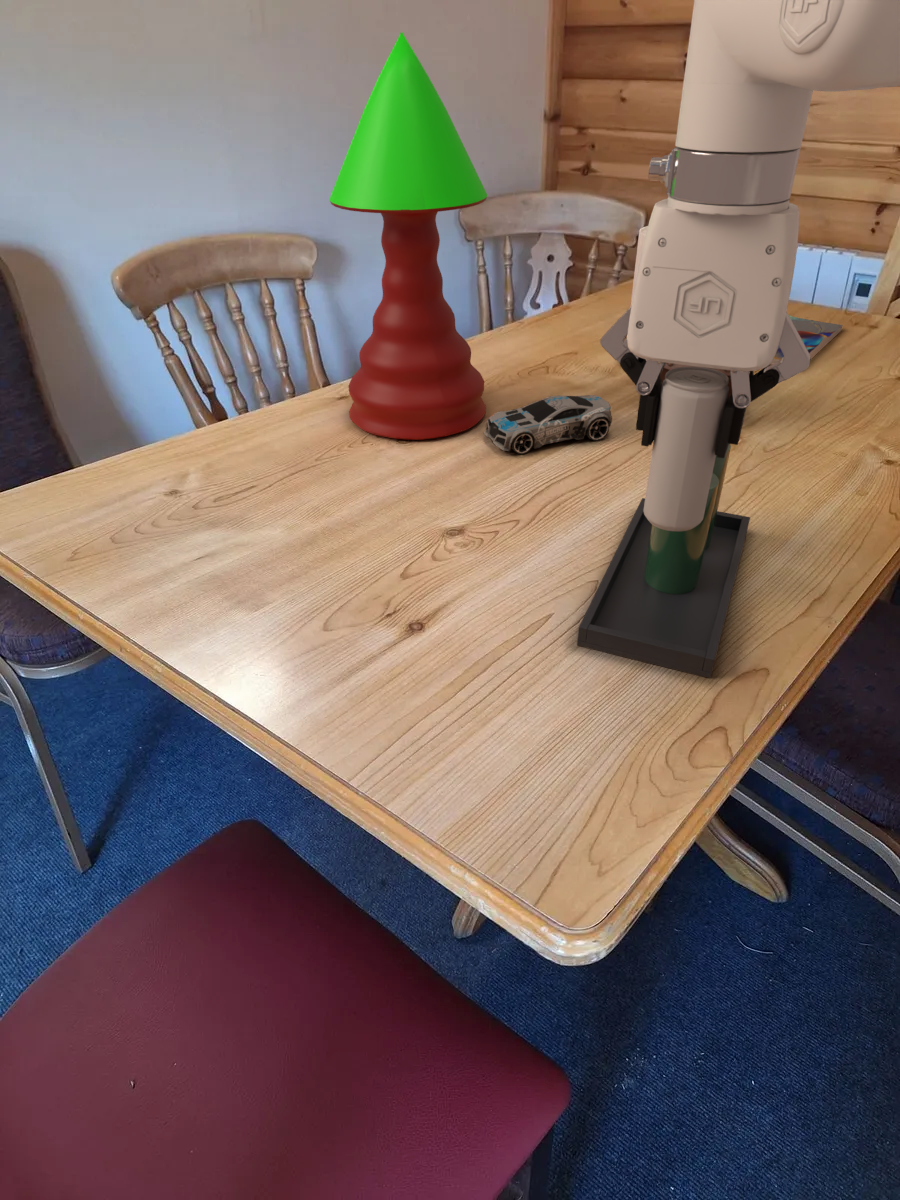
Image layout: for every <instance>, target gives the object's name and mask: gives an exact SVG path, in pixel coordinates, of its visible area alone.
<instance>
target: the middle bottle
mask: <svg viewBox="0 0 900 1200" xmlns="http://www.w3.org/2000/svg"><path fill="white" fill-rule="evenodd" d="M718 485H719V480H718V478H717V476H716V475H715V474H713V473H712V478H711V483H710V488H709V493H708V498H707V503H706V507H705V512H704V517H703V520H702V521H701V523H700V524H698V525H697V526H696V527H694V528H692V529H690V530H687V531H667V530H663V529H660V528H658V527H656V526H654V525H652V526H651V533H650V539H649V546H648V552H647V559H646V565H645V571H644V579H645V581H646V583H647V584H648V585H649V586H650V587H652V588H654V589H655V590H658V591H660V592H664V593H669V594H684V593H688V592H690V591H692V590H694V589H695V588H696V587H697V585H698V582H699V577H700V572H701V567H702V562H703V557H704V552H705V548H706V543H707V538H708V533H709V528H710V523H711V518H712V514H713V509H714V504H715V499H716V494H717V489H718Z"/></svg>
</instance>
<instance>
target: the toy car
mask: <svg viewBox="0 0 900 1200" xmlns="http://www.w3.org/2000/svg"><path fill="white" fill-rule="evenodd" d="M611 409H612V406H611V404H610V403H609V402H608V401H607V400H605V399H604V398H602V397H601V396H599V395H596V394H587V395H551V396H547V397H545V398H541V399H539V400H537V401H536V400H535V401H534V402H531V403H528V404H527V405H524V406H521V407H517V408H513V409H509V410H499V411H497V412H495V413H493V415H490V416H489V417H488V419H487V421H486V426H485V427H486V428H485V431H484V433H483V434H484V436H485V437H486V438H489V439H490V440H491V441H492V444H493V445H494V446H496V447H497V448H499V449H500V450H502V451H503V452H511V449H512V451H513V452H515V453H516V454H517V455H525V454H527V453H529V452H530V451H531V449H532V448H533V449H540V448H541V447H543V446H544V445H549V444H553V443H558V442H563V441H569V440H573V439H574V440H576V441H578V440H584V439H585V436H586V437H587V438H588V439H590V440H592V441H593V442H598V441H601V440H603V439H604V438H605V437H606V436H607V435H608V433H609V431H610V428H611V426H612V422H613V415H612V413H611Z"/></svg>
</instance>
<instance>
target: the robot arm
mask: <svg viewBox="0 0 900 1200" xmlns="http://www.w3.org/2000/svg"><path fill="white" fill-rule="evenodd" d="M893 87H894V88H895V87H900V0H693V7H692V15H691V23H690V30H689V39H688V46H687V53H686V62H685V70H684V77H683V82H682V91H681V98H680V106H679V112H678V113H679V114H678V121H677V128H676V129H677V130H676V136H675V144H674V146H675V147H674V148H672V149H671V152H669V153H668V154H665V155H663V156H662V157H658V156H656V157H651V159H650V162H649V167H648V176H647V178H648V180H649V181H657V182H658V181H659V183H660V184H664V188H666V193H665V194H666V195H667V198H664V199H661V200H660V201H657V202H655V203H654V206H653V207H652V208H653V209H652V211H651V214H650V218H649V220H648V224H647V226H648V228H647V232H646V236H645V240H644V244H643V248H642V253H641V257H640V262H639V267H638V272H637V278H636V283H635V289H634V295H633V301H632V306H631V305H630V306H629V308H628V309H626V311H625V312H624V313H623V314H622V315H621V316H620V317H619V319H617V320H616V321H615V323H614V324H613V325H612V326H610V328H609V329H608V330H607V331H606V332H605V333H604V334H603V335H602V337H601V338H600V340H599V343H600V346H601V347H602V349H604V350H605V351H606V352H607V354H608V355H609V356H611V357H612V358H613V360H615V361H617V363H619V365H620V368H621V369H622V370H623V372H624V373H625V374H626V376H627V377H628V378H629V379H630V380H631V381H632V383H633V384H634V386H635V390H636V392H637V393H638V394H639V402H638V409H637V416H636V424H635V430H636V431H641V432H642V434H641V442H640V446H641V447H649V446H652V445H653V442H654V435H655V428H656V422H657V415H658V408H659V401H660V394H661V388H662V384H661V382H662V380H661V379H660V375H661V373H662V371H663V369H664V366H665V364H666V363H673V364H681V365H690V366H698V367H707V368H716V369H724V370H730V374H731V385H732V392H731V395H730V396H729V397H728V399H727V402H726V404H725V407H724V411H723V416H722V421H721V426H720V431H719V436H718V441H717V446H716V451H715V455H717V457H718V458H724V457H725V454H726V451H727V449H728V446H729V444H730V445H736V446H738V445H739V442H740V438H741V434H742V429H743V425H744V419H745V415H746V411H747V407H749V406H750V405H751V403H752V402H754V401H755V400H756V399H758V398H760V397H761V396H763V395H764V394H766V393H768V392H769V391H770V390H772V389H773V388H775V387H776V386H777V385H778V384H780V383H782V382H784V381H787V380H789V379H790V378H791V379H792V378H793V377H795V376H797V375H799V374H800V373H802V372H805V371H806V370H808V368H809V367H810V363H811V360H812V359H811V357H810V354H809V352H808V350H807V348H806V347H805V345H804V343H803V341H802V339H801V337H800V335H799V334H798V332H797V330H796V328H795V326H794V324H793V323H792V321H791V319H790V317H789V315H790V314H789V313H788V308H789V307H788V306H789V301H790V296H791V292H792V287H793V286H792V285H793V280H794V273H795V267H796V261H797V253H798V245H799V244H798V242H799V233H800V209H799V206H798V205H797V204H794V203H791V202H790V201H791V196H792V191H793V187H794V183H795V177H796V172H797V168H798V164H799V159H800V153H801V148H802V144H803V139H804V135H805V130H806V126H807V121H808V117H809V111H810V107H811V102H812V97H813V93H814V91H815V92H848V91H865V90H866V91H867V90H874V89H880V88H893ZM627 334H628V335H627ZM778 346H779V347H780V349H781V351H782V353H783V355H784V357H783V358H782V359H780V360H778V362H776V363H774V364H771V365H769V364H770V363H771V362H772V360H773V359H774V357H775V355H776V352H777V349H778ZM810 359H811V360H810ZM646 360H647V361H646ZM756 371H757V372H756ZM755 372H756V373H755Z"/></svg>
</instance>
